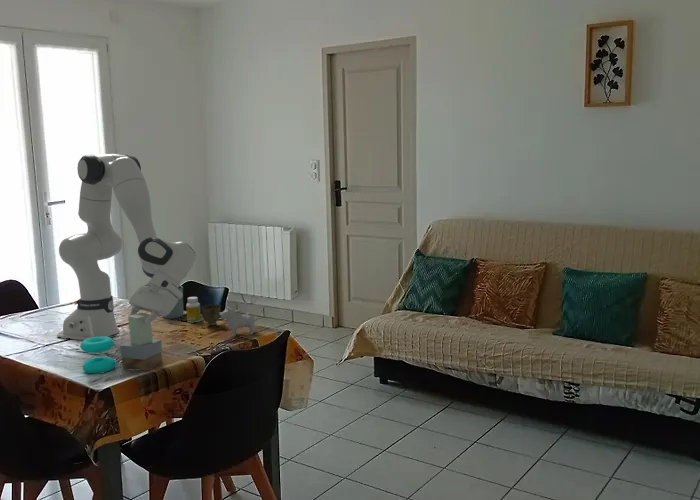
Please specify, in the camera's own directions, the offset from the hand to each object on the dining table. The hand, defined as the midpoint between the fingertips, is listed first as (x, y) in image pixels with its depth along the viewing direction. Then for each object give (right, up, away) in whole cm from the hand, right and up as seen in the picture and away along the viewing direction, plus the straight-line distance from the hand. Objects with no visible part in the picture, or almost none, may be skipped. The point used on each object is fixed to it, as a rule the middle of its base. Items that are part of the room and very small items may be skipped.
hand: (138, 321), depth 223 cm
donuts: (-12, -16, 0) cm, 20 cm away
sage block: (+1, -7, +2) cm, 7 cm away
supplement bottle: (+5, -6, +57) cm, 58 cm away
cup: (+14, -7, +49) cm, 52 cm away
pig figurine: (+27, -8, +36) cm, 46 cm away
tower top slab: (+1, -11, +2) cm, 11 cm away
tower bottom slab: (+1, -15, +3) cm, 15 cm away
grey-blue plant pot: (-6, -5, +68) cm, 68 cm away
